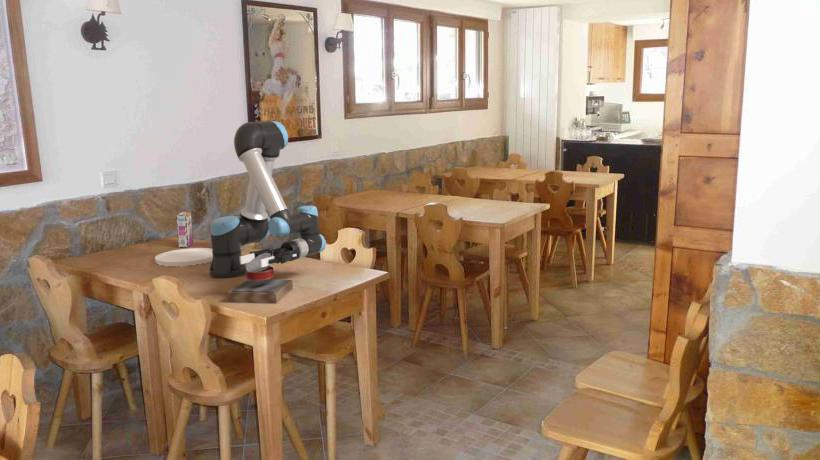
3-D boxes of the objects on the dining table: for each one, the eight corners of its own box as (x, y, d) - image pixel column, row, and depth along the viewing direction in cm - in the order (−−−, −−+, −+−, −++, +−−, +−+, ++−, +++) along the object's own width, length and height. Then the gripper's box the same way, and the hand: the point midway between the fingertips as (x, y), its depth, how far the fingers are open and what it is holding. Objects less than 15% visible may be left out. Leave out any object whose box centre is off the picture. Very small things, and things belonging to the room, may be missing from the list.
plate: (183, 270, 295) (183, 264, 295) (141, 263, 310) (141, 257, 310) (232, 256, 319) (231, 251, 318) (190, 250, 333) (190, 245, 333)
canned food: (274, 289, 251) (276, 268, 246) (245, 289, 248) (247, 268, 242) (271, 269, 260) (274, 249, 254) (244, 269, 257) (246, 248, 251)
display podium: (228, 302, 246) (227, 291, 245) (247, 288, 263) (247, 278, 263) (276, 303, 243) (275, 292, 242) (292, 289, 260) (292, 279, 260)
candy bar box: (188, 247, 338) (186, 215, 335) (178, 248, 338) (175, 215, 335) (193, 243, 349) (191, 211, 346) (183, 243, 349) (181, 211, 346)
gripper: (316, 262, 260) (273, 275, 241) (273, 256, 272) (230, 268, 254) (315, 243, 258) (272, 255, 240) (272, 237, 270) (228, 248, 252)
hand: (250, 262), depth 247 cm, fingers closed on canned food, 10 cm apart
